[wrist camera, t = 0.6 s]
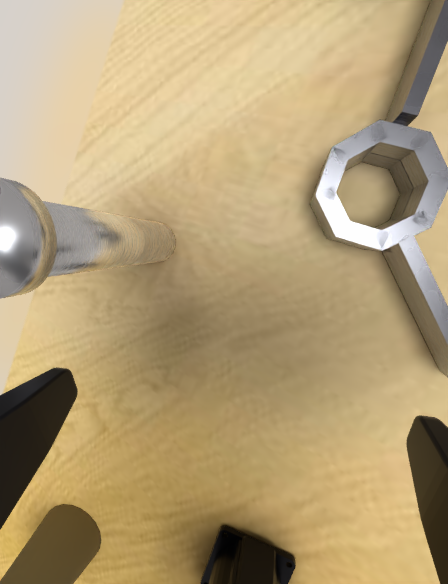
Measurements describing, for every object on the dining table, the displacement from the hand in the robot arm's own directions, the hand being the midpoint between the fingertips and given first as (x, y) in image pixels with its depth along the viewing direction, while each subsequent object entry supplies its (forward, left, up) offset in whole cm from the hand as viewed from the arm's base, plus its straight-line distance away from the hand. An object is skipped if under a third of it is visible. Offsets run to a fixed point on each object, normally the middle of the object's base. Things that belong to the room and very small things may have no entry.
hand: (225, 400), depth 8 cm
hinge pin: (+2, +9, -15) cm, 18 cm away
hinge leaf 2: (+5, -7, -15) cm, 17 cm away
